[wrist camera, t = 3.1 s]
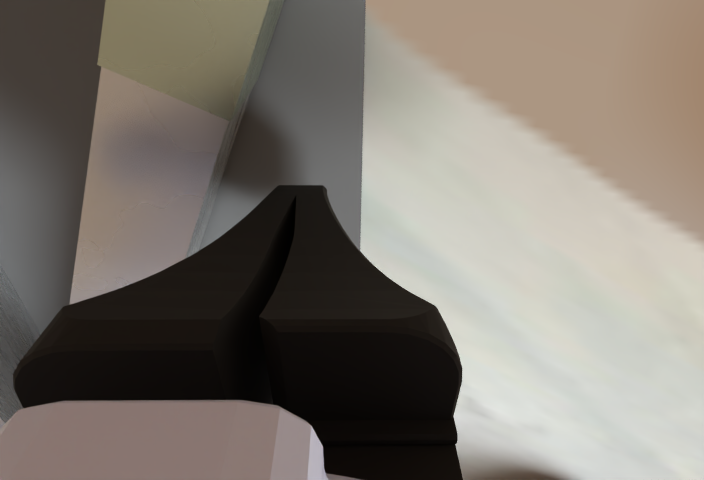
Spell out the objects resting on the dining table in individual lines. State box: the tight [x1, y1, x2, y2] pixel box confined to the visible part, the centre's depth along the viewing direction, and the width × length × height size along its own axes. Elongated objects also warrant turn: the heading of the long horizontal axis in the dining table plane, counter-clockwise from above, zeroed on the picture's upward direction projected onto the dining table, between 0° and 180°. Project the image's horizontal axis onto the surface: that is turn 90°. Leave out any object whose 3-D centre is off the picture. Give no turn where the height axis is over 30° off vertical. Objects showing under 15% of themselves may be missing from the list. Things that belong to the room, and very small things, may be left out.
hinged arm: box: [69, 0, 284, 305], centre depth 13 cm, size 21×4×3 cm, turn 155°
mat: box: [0, 0, 365, 334], centre depth 14 cm, size 20×27×1 cm
